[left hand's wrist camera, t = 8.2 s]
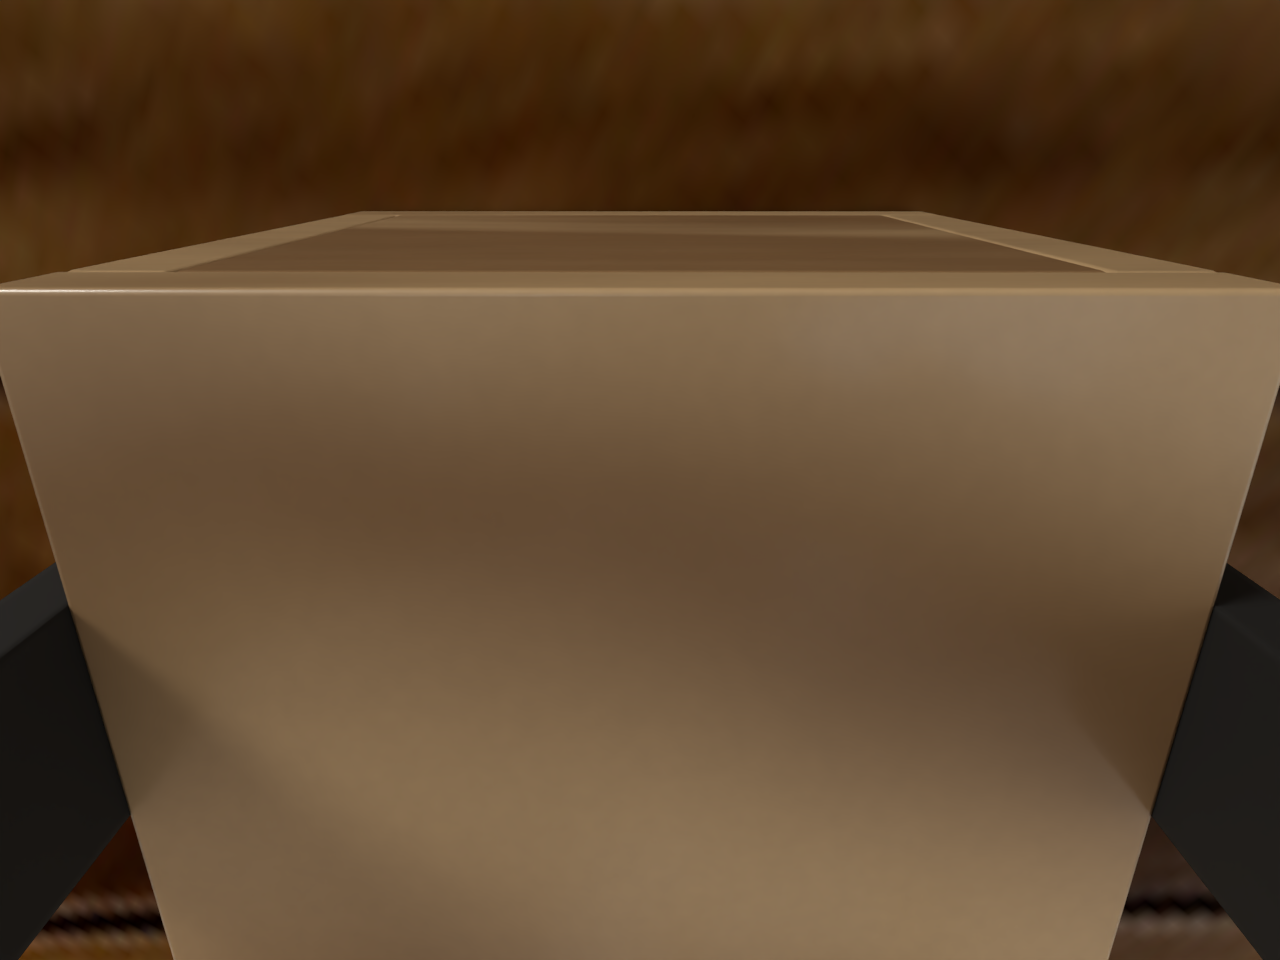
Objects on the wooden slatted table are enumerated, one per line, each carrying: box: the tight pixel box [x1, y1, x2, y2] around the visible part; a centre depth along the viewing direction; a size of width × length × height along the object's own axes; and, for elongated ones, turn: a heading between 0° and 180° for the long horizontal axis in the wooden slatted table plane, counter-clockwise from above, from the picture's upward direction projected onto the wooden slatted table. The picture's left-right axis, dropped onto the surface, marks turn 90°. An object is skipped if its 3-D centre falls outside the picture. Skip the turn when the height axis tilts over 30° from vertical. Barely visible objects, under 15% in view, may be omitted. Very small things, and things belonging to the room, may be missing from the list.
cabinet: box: [0, 211, 1280, 960], centre depth 16 cm, size 21×12×10 cm, turn 0°
